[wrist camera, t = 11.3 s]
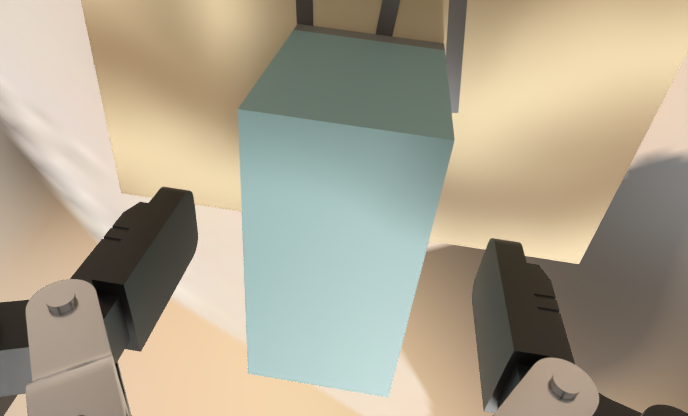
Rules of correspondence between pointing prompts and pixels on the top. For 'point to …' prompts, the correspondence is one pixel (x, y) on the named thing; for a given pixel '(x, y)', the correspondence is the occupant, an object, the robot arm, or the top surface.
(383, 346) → the block
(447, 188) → the board
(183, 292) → the top surface
